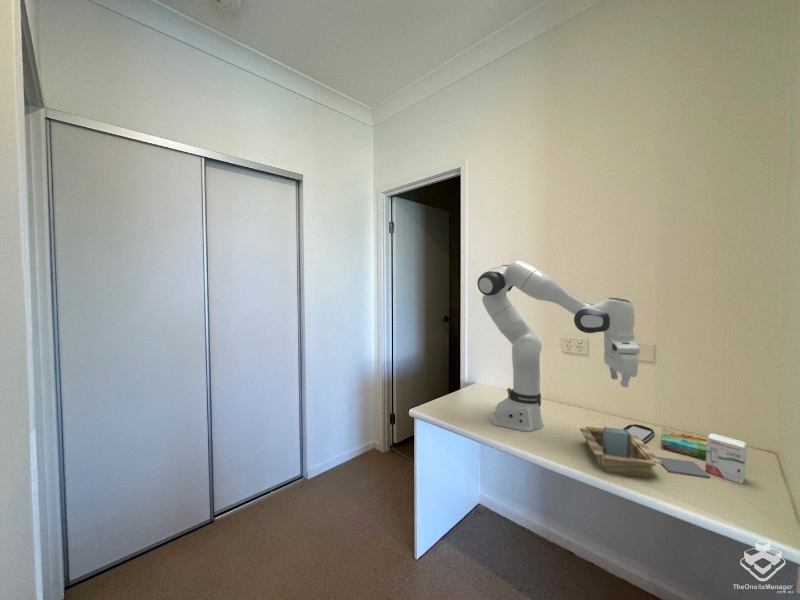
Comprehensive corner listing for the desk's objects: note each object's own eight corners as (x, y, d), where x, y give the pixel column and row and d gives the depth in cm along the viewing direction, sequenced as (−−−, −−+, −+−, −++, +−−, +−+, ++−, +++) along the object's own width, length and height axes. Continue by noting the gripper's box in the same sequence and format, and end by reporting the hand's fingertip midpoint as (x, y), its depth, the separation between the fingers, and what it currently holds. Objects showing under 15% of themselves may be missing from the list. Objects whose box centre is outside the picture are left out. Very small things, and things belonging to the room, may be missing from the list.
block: (606, 459, 111) (607, 431, 111) (602, 454, 115) (603, 427, 114) (629, 463, 109) (630, 434, 108) (625, 457, 113) (626, 429, 112)
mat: (668, 472, 104) (668, 470, 104) (655, 458, 112) (655, 456, 112) (710, 478, 100) (710, 476, 100) (693, 463, 109) (693, 461, 109)
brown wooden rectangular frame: (664, 483, 98) (665, 465, 98) (595, 472, 103) (596, 456, 103) (633, 446, 120) (633, 432, 120) (578, 439, 126) (578, 425, 126)
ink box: (704, 471, 104) (706, 436, 104) (707, 466, 107) (708, 432, 106) (743, 484, 97) (745, 447, 97) (745, 479, 100) (747, 442, 100)
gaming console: (631, 427, 138) (632, 421, 138) (657, 434, 131) (657, 428, 131) (613, 439, 127) (614, 433, 127) (640, 448, 119) (641, 442, 119)
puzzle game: (662, 427, 127) (734, 443, 114) (661, 438, 127) (733, 456, 114) (661, 437, 118) (739, 456, 105) (660, 449, 119) (738, 470, 105)
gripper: (599, 339, 122) (599, 374, 123) (619, 348, 103) (619, 390, 103) (618, 339, 121) (618, 375, 121) (642, 349, 101) (642, 392, 101)
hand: (619, 382), depth 112 cm, fingers open, 8 cm apart
